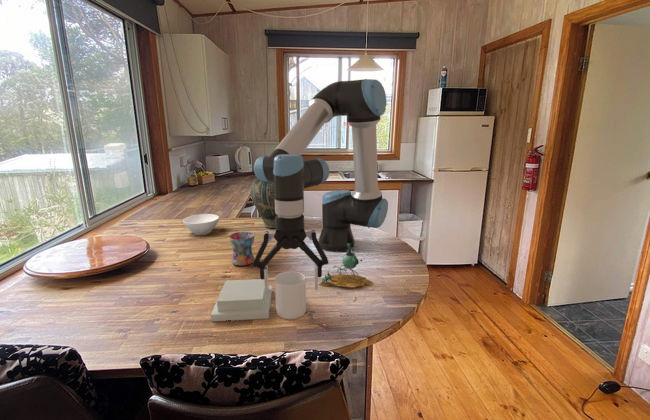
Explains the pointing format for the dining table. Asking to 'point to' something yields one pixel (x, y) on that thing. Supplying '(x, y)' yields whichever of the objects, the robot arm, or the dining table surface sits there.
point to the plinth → (244, 313)
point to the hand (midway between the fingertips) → (291, 288)
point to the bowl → (201, 223)
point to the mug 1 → (242, 247)
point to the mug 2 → (290, 294)
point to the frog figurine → (347, 280)
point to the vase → (264, 201)
